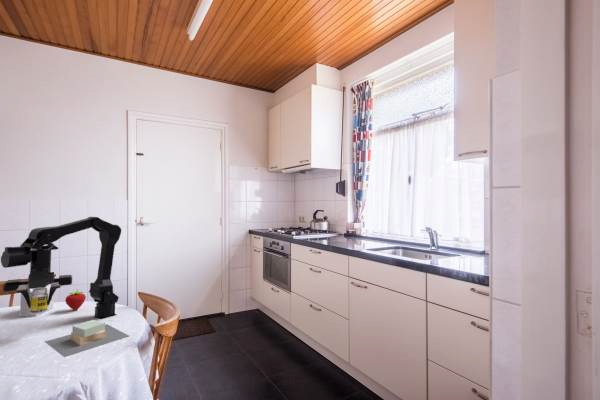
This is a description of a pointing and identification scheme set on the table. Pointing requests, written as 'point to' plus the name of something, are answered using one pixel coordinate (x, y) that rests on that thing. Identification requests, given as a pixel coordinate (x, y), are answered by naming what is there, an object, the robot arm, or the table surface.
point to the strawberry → (75, 300)
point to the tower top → (88, 328)
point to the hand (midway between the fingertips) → (39, 306)
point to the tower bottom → (88, 338)
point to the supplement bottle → (39, 301)
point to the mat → (70, 347)
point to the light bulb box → (24, 306)
